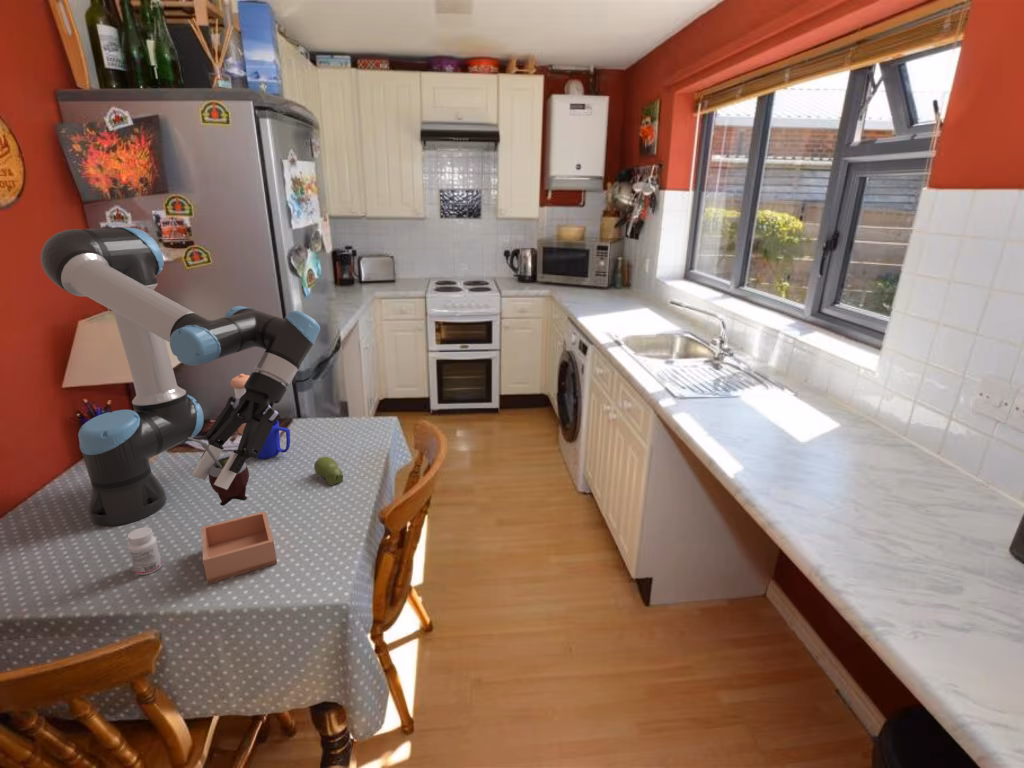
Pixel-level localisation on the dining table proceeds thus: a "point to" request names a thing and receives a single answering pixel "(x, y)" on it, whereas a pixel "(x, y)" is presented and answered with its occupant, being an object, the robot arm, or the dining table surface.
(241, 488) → the mate gourd
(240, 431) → the pepper shaker
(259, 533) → the box
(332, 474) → the pear
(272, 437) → the mug
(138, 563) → the pill bottle
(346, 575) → the dining table surface
